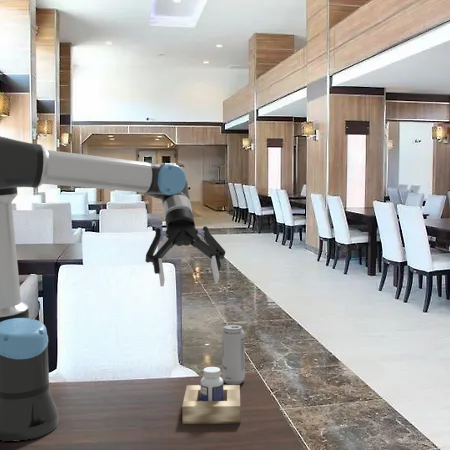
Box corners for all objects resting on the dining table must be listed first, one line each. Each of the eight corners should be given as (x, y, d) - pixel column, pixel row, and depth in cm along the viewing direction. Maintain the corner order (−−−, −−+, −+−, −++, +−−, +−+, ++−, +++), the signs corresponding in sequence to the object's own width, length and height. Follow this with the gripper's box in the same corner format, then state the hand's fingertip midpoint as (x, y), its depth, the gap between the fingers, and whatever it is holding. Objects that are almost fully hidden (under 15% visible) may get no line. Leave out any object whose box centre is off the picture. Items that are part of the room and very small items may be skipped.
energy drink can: (222, 377, 161) (222, 323, 159) (244, 377, 161) (244, 323, 159) (221, 385, 155) (221, 329, 153) (244, 385, 155) (244, 329, 153)
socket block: (182, 423, 131) (182, 406, 131) (187, 400, 144) (186, 385, 144) (240, 423, 131) (240, 406, 131) (239, 400, 144) (239, 385, 144)
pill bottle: (224, 405, 140) (224, 365, 139) (222, 414, 135) (222, 373, 134) (202, 404, 141) (201, 365, 140) (199, 413, 135) (198, 373, 134)
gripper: (221, 223, 162) (236, 287, 149) (131, 226, 156) (138, 293, 143) (226, 205, 156) (242, 270, 143) (132, 207, 150) (139, 275, 137)
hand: (190, 281), depth 143 cm, fingers open, 13 cm apart
